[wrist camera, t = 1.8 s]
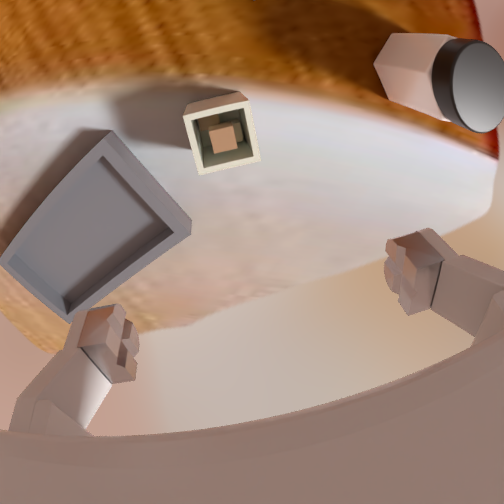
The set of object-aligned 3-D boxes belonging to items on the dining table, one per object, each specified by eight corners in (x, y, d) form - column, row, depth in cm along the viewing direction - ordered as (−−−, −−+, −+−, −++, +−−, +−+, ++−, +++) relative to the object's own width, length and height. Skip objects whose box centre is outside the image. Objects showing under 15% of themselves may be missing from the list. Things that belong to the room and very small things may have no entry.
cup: (187, 103, 27) (182, 117, 21) (239, 91, 27) (250, 101, 21) (199, 150, 30) (198, 177, 24) (249, 139, 30) (262, 162, 24)
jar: (443, 91, 29) (518, 119, 19) (394, 117, 30) (465, 153, 21) (417, 23, 24) (496, 27, 14) (361, 45, 25) (435, 50, 16)
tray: (7, 248, 32) (-3, 261, 30) (112, 130, 27) (103, 137, 25) (74, 308, 39) (69, 324, 37) (191, 219, 34) (191, 234, 32)
